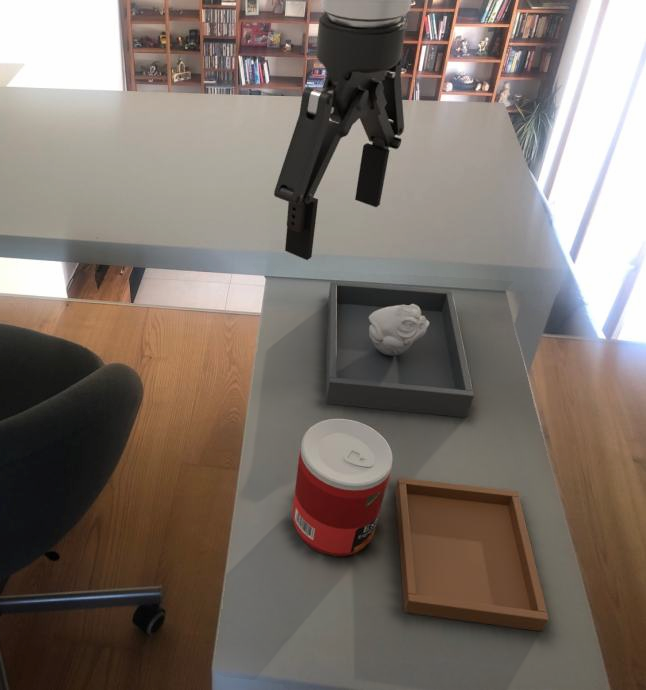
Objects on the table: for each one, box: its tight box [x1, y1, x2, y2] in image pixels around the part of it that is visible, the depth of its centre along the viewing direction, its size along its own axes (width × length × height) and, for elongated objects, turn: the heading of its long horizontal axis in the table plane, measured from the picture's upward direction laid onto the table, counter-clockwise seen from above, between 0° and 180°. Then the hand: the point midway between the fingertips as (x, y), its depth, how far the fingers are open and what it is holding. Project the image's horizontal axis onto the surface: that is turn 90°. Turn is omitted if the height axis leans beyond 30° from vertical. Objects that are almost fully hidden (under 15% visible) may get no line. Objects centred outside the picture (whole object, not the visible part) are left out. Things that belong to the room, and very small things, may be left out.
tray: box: [394, 477, 550, 632], centre depth 64 cm, size 13×11×2 cm
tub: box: [325, 281, 475, 419], centre depth 85 cm, size 20×16×4 cm
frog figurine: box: [369, 304, 429, 356], centre depth 84 cm, size 6×7×7 cm
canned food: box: [291, 418, 394, 557], centre depth 64 cm, size 8×8×11 cm
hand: (334, 227), depth 74 cm, fingers open, 13 cm apart
